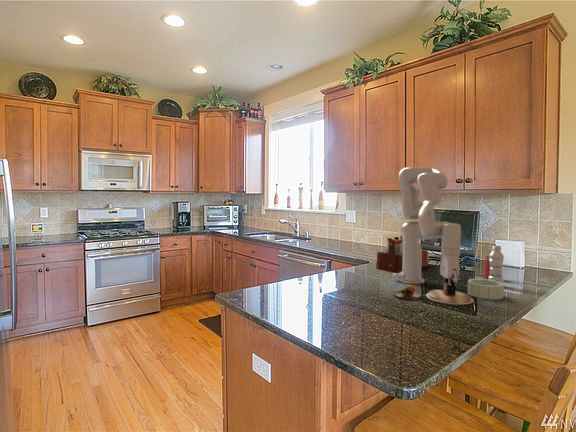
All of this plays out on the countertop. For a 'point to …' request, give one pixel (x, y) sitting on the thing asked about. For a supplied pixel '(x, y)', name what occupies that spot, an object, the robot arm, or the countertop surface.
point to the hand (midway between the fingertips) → (449, 292)
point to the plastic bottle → (496, 264)
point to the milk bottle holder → (395, 256)
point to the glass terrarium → (408, 293)
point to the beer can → (486, 267)
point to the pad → (450, 303)
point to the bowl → (485, 289)
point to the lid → (449, 296)
